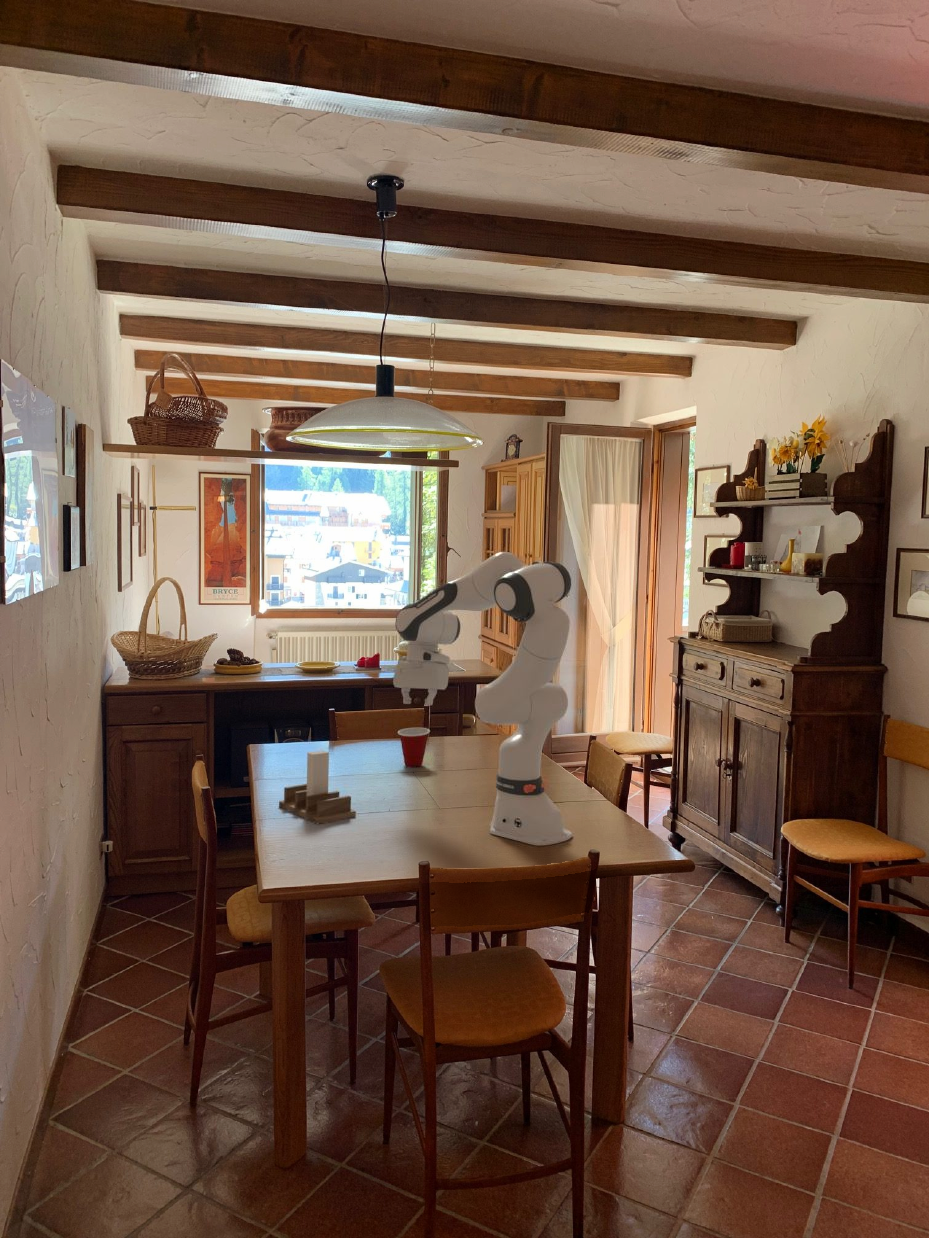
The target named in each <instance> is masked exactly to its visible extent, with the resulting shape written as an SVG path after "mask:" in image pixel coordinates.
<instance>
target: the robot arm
mask: <svg viewBox="0 0 929 1238" xmlns="http://www.w3.org/2000/svg"><path fill="white" fill-rule="evenodd" d="M571 588H572V578H571V575H570V573H569V571H568V569H567V568H566V567H565V566H564V565H563V564H561V563H559V562H555V561H533V562H532V563H531V564H530V565H525V564H523V563H522V561H521V560H520V558H519V557H518V556H516V555H515V554H513V553H512V552H508V551H500V552H498V553H495V554H493V555H492V556H490V557H488V558H487V559H486V560H484V561H482V562H481V563H480V564H478V565H477V566H476V567H475V568H474V569H473V570H471V571H470V572H468V573H466V574H465V575H463V576H460V577H458V578H457V579H454V580H451V581H448V582H446V583H444V584H442V585H440V586H438V587H437V588H436V589H433V591H430V592H429V593H428V594H426V595H425V596H423V597H421V599H419V600H417V601H415V602H414V603H408V604H406V605H405V606H404V607H402V608H401V609H400V610H399V611H398V613H397V614H396V619H395V623H394V624H395V629H396V631H397V633H398V635H399V636H400V637H401V638H402V640H403V641H406V642H407V650H406V656H404V655H403V656H401V657H400V658H399V659H398V661H397V664H396V666H395V670H394V673H393V680H392V683H393V686H394V688H401V691H400V692H401V694H402V697H403V700H402V701H403V702H402V703H403V704H405V705H406V704H407V705H410V704H411V703H412V697H410V692H411V689H418V690H419V689H420V690H421V689H424V690H426V689H427V693H428V695H427V697H426V698H425V699H424V705H425V706H433V703H434V699H435V698H436V695H437V693H438V690H446V688H447V687H448V684H449V673H450V672H449V671H450V670H449V666H448V664H449V663H450V657H449V655H446V654H445V653H442V652H440V651H439V645H443V646H446V645H451V644H453V643H454V642H455V641H456V640H457V639H458V638H459V636H460V634H461V633H460V632H461V621H460V619H459V616H458V615H457V614H456V613H455V612H452V611H472V612H484V611H488V610H490V609H493V608H495V607H496V606H498V608H499V609H500V610H501V611H502V612H503V613H504V614H505V615H507V616H509V617H512V619H513V620H514V621H515V622H516V623H525V628H524V630H523V633H522V637H521V639H520V643H519V646H518V648H517V650H516V654H515V655H514V658H513V660H512V662H511V663H510V665H509V666H508V667H507V668H506V669H505V671H503V673H502V674H500V675H499V676H498V677H497V678H495V679H494V680H493V681H491V682H490V683H488V684H486V685H484V686H482V687H481V688H480V689H479V690H478V692H477V694H476V697H475V700H474V708H475V711H476V714H477V716H478V718H479V719H480V720H481V722H483V723H484V724H485V723H486V724H492V725H496V726H512V725H518V727H517V728H516V730H515V732H514V733H513V734H512V735H510V736H509V737H507V738H505V740H503V741H502V742H501V744H500V746H499V750H498V751H499V752H498V753H499V754H498V772H497V774H496V778H495V779H496V780H495V788H496V789H497V791H496V797H495V802H494V808H493V814H492V819H491V822H490V825H489V827H490V829H489V833H490V834H491V835H494V836H499V837H502V838H505V839H510V840H514V841H516V842H517V841H518V842H521V843H525V844H528V845H532V846H549V845H554V844H560V843H562V842H565V841H568V840H570V839H571V838H572V837H573V832H572V831H570V830H568V829H566V828H564V818H563V813H562V812H561V810H560V809H559V808H558V807H557V806H556V804H555V803H554V802H553V800H551V799H550V797H549V795H548V794H546V793H545V790H546V789H545V788H546V787H548V785H547V784H548V782H547V781H546V782H543V778H542V776H541V764H542V753H543V748H544V744H545V741H546V739H547V736H548V735H549V733H550V731H551V730H552V728H553V727H554V726H555V725H556V723H557V722H558V721H559V722H560V721H561V719H563V717H564V716H565V714H566V713H567V710H568V707H569V700H568V699H569V698H568V695H567V692H566V690H565V689H564V688H563V686H561V685H560V684H557V683H552V682H551V681H552V679H553V678H554V677H555V676H556V673H557V671H558V667H559V665H560V662H561V661H562V660H561V659H562V657H563V655H564V652H565V650H566V645H567V641H568V638H569V632H570V624H571V622H570V617H569V615H568V614H567V612H566V611H565V610H564V609H563V608H561V607H559V606H557V605H556V603H559V602H561V601H562V600H563V599H565V597H567V595H568V594H570V591H571Z"/></svg>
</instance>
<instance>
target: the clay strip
mask: <svg viewBox="0 0 929 1238" xmlns="http://www.w3.org/2000/svg"><path fill="white" fill-rule="evenodd" d="M329 762H330V752H329V751H326V750H324V749H323V750H315V751H309V752H307V757H306V768H307V769H306V784H307V796H311V795H317V794H323V793H328V792H329V773H330V772H329V768H330V766H329V765H330V763H329Z"/></svg>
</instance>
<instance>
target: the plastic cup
mask: <svg viewBox="0 0 929 1238" xmlns="http://www.w3.org/2000/svg"><path fill="white" fill-rule="evenodd" d="M430 733H431V730H430V729H429V728H427V727H408V728H403V729H402V728H401V729H399V730H398V731H397V734H398V736H399V739H400V743H401V751H402V755H403V762H404V765H406V766H405V767H408V766H413V767H412V768H416V767H415V766H420V767H421V765H423V762H424V757H425V752H426V748H427V747H426V746H427V741H428V739H429V738H428V737H429V735H430Z"/></svg>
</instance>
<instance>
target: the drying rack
mask: <svg viewBox="0 0 929 1238" xmlns="http://www.w3.org/2000/svg"><path fill="white" fill-rule="evenodd" d="M283 787H284V786H283ZM283 791H284V795H283V796H284V797H283V800H279V801H278V807H279V808H281V809H284V810H286V811H287V812H290V813H292V814H294V815H296V816H299V817H301V818H303V817H304V818H303V819H305V818H306V819H305V820H307V819H308V821H310V822H312V823H314V822H315V823H314V824H316V823H322V824H325V822H327V823H331V822H335V820H336V821H340V820H341V821H342V820H345V819H344V818H346V819H349V818H350V817H351V818H355V816H357V810H354V809H352V807H351V806H352V805H351V804H352V796H351V795H344V796H340V791H338V790H336V791H335V790H334V791H330V792H329V791H328V793H323V794H317V795H311V796H307V783H302V784H298V785H292V786H291V785H290V786H285V787H284V790H283Z"/></svg>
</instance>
